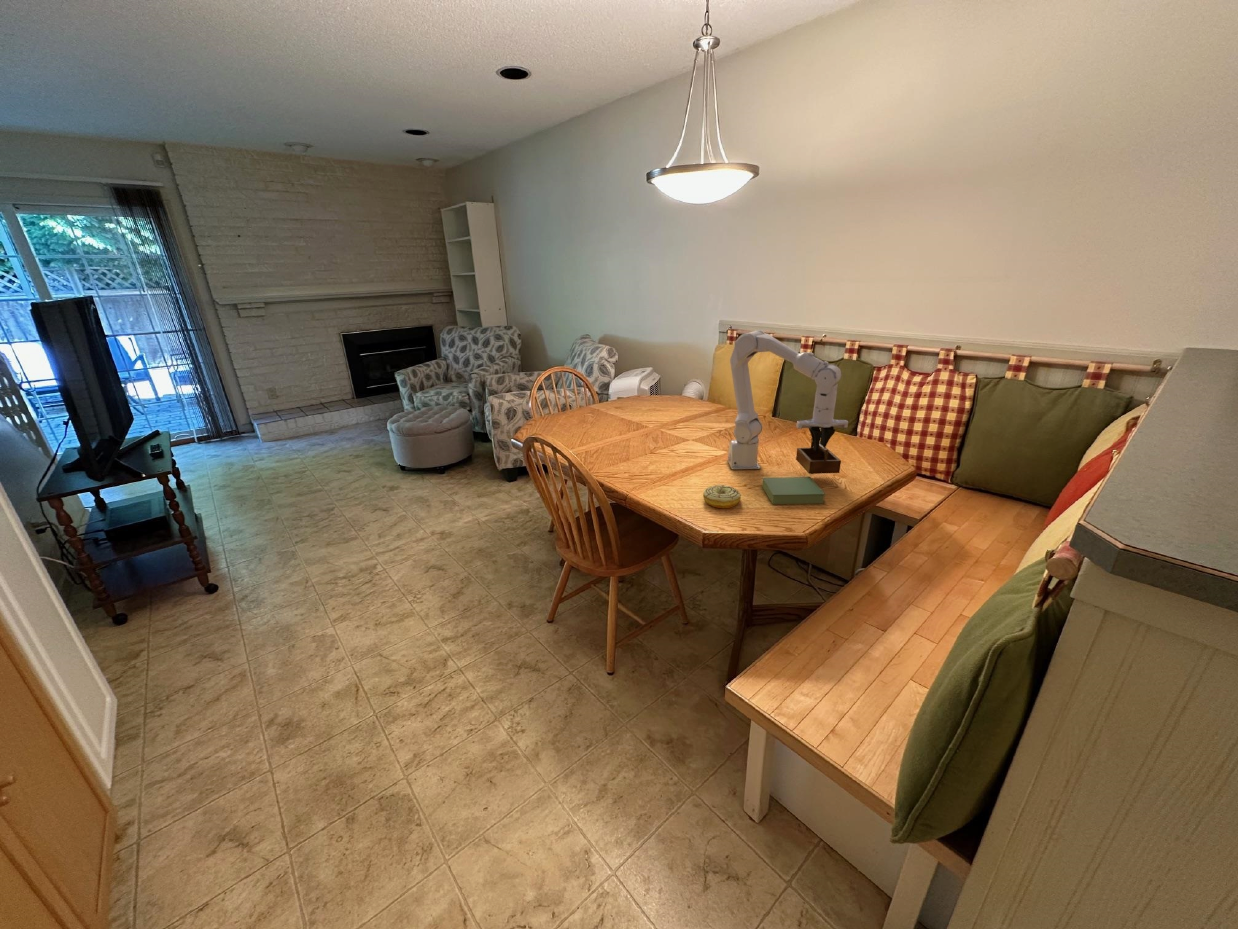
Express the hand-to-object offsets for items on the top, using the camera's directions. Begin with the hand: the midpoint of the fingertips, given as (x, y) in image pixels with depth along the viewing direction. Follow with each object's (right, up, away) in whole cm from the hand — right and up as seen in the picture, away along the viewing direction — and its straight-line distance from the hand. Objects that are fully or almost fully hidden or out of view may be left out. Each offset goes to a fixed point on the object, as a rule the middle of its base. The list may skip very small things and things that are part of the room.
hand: (818, 450), depth 146 cm
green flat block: (-11, -13, -6) cm, 18 cm away
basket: (0, -5, +2) cm, 5 cm away
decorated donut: (-32, -15, -9) cm, 36 cm away
